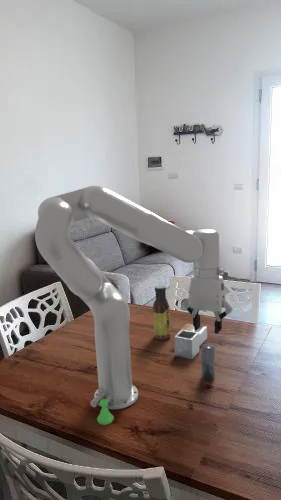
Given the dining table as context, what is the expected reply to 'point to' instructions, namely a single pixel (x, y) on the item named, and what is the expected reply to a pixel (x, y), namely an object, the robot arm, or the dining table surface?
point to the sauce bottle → (161, 314)
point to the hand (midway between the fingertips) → (207, 329)
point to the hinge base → (187, 342)
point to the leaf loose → (202, 335)
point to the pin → (208, 362)
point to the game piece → (104, 413)
